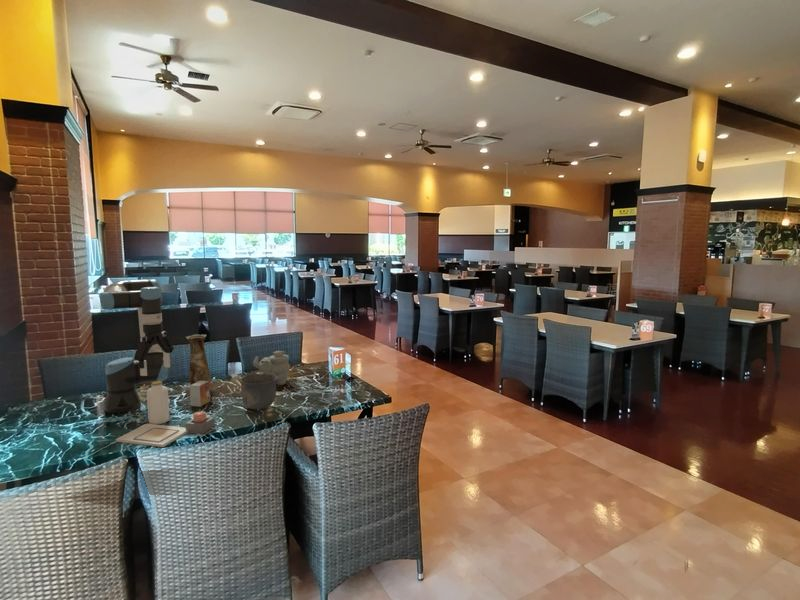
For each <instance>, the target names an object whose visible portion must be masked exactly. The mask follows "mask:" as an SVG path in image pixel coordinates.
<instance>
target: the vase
mask: <svg viewBox="0 0 800 600" xmlns="http://www.w3.org/2000/svg"><path fill="white" fill-rule="evenodd" d="M185 338H186V340H188V342H189V346H190V347H189V349H190V351H189V370H188V371H189V372H188V381H189V386H190V385H192V384H194V383H196V382H198V381H209V384H211V372H210V368H209V365H208V364H209V362H208V359H207V355H206V350H205V343H204V342H205V339H206V338H207V334H203V333H202V334H199V333H198V334H192V335H188V336H185Z"/></svg>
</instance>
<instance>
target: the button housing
mask: <svg viewBox="0 0 800 600" xmlns="http://www.w3.org/2000/svg"><path fill="white" fill-rule="evenodd" d="M184 428H186V430H188V433H191V434H197V435H198V434H200V435H203V434H206V433H207V432H208V431H209V430H211V429H213V428H215V417H213V416H212V417H211V416H206V421H205V422H203V423H194V422H193V418H192V419H190V420H188V421H186V422H185V427H184ZM188 433H187V434H188Z"/></svg>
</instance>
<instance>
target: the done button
mask: <svg viewBox="0 0 800 600" xmlns="http://www.w3.org/2000/svg"><path fill="white" fill-rule="evenodd" d="M192 416H193V418H192V419H193V422H194V423H203V422H205V421H206V417H207V412H206V411H205V410H204V411H202V410H201V411H196V412H194V413H193V414H192Z"/></svg>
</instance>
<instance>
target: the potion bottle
mask: <svg viewBox="0 0 800 600" xmlns="http://www.w3.org/2000/svg"><path fill="white" fill-rule="evenodd" d="M150 383H151V387H149V388H148V389H147V390H146V403H147V415H148V418H147V419H148V420H147V421H148V424H156V425H163V424H166V423H167V422H169V420H171V417H170V402H169V388H168V387H167V386H165V385H163V380H162V381H155V382H150Z"/></svg>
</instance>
